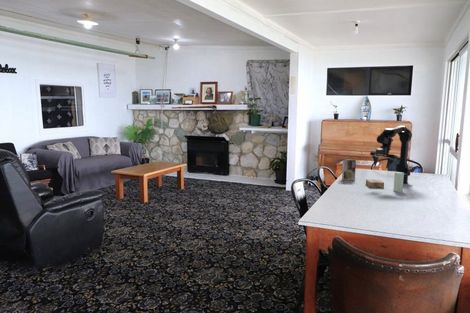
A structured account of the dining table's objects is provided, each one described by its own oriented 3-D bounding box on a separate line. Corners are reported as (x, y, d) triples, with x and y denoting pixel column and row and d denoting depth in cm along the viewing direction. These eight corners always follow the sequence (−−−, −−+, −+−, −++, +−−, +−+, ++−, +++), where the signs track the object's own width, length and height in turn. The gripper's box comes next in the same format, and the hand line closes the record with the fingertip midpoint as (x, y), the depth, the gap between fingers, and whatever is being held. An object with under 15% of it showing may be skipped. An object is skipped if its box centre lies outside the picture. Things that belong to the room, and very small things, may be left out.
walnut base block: (379, 185, 274) (379, 179, 274) (383, 188, 264) (384, 182, 264) (365, 184, 275) (366, 179, 274) (369, 187, 265) (369, 182, 265)
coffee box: (353, 179, 295) (354, 159, 293) (355, 180, 289) (356, 160, 287) (341, 178, 296) (342, 158, 294) (343, 180, 290) (344, 160, 287)
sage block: (395, 190, 259) (397, 171, 257) (402, 191, 256) (404, 172, 254) (393, 190, 256) (394, 172, 254) (399, 192, 253) (401, 173, 251)
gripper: (368, 141, 264) (362, 162, 264) (392, 145, 249) (386, 167, 249) (376, 145, 271) (371, 165, 271) (400, 148, 256) (395, 170, 256)
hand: (380, 167), depth 262 cm, fingers open, 9 cm apart
